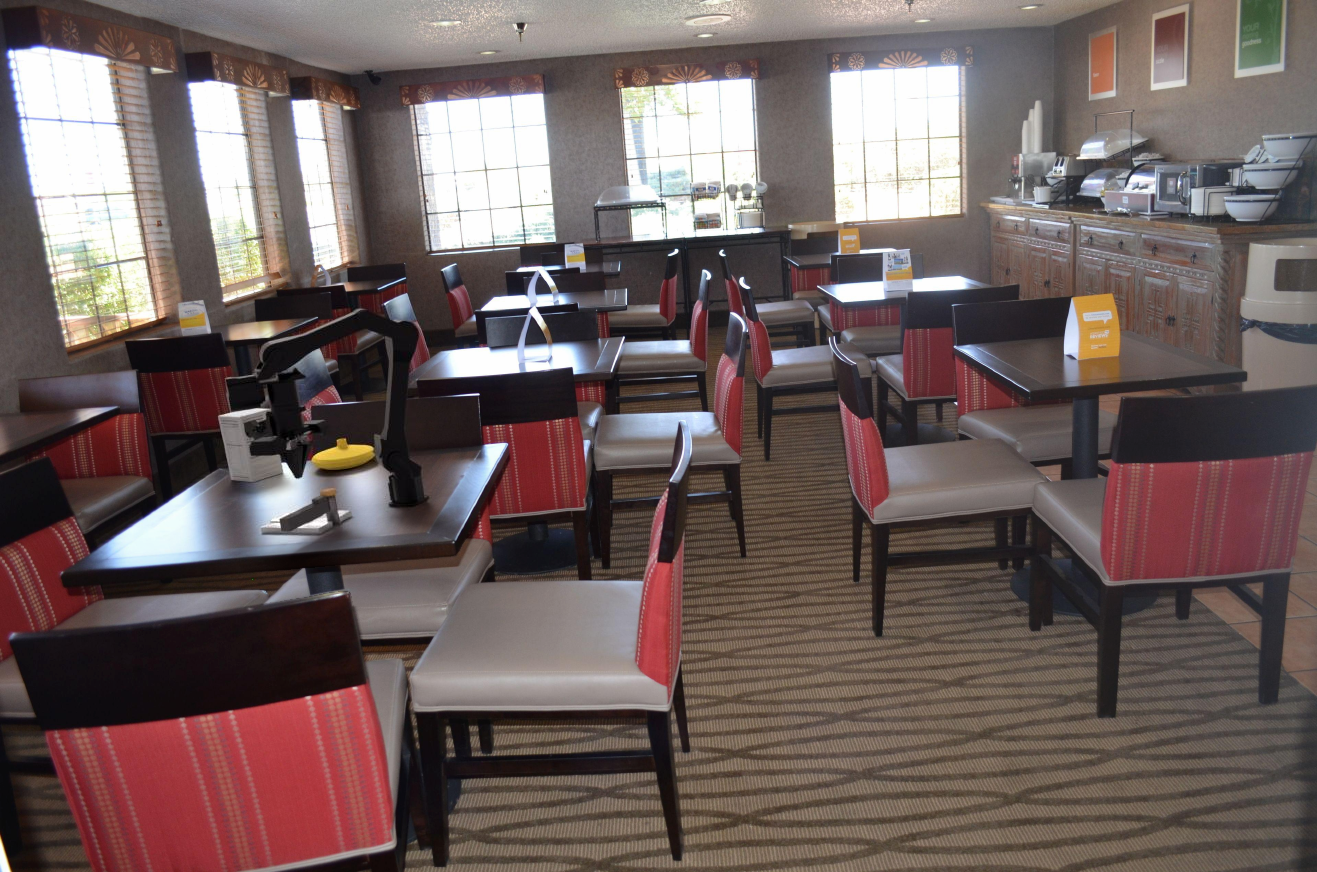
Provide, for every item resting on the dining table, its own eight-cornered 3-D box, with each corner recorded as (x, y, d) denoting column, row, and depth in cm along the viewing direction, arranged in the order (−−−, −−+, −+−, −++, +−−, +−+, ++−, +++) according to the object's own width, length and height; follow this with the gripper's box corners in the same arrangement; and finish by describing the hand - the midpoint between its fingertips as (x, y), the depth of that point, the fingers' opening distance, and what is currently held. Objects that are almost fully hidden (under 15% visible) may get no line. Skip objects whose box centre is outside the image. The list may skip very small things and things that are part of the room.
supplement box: (284, 472, 243) (272, 408, 239) (253, 483, 236) (240, 416, 232) (261, 470, 249) (249, 407, 245) (229, 480, 241) (216, 415, 237)
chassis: (354, 515, 200) (349, 487, 199) (322, 533, 190) (317, 504, 189) (295, 515, 205) (290, 487, 203) (261, 532, 195) (255, 504, 193)
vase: (366, 472, 237) (361, 444, 235) (303, 477, 237) (298, 449, 236) (385, 456, 252) (381, 430, 250) (326, 460, 253) (322, 435, 251)
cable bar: (329, 505, 197) (326, 488, 196) (342, 506, 196) (339, 488, 195) (278, 531, 183) (275, 512, 182) (292, 531, 182) (289, 512, 181)
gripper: (281, 395, 203) (294, 465, 206) (219, 415, 185) (234, 491, 189) (326, 393, 199) (338, 465, 203) (266, 414, 182) (281, 492, 186)
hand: (298, 478), depth 195 cm, fingers closed
